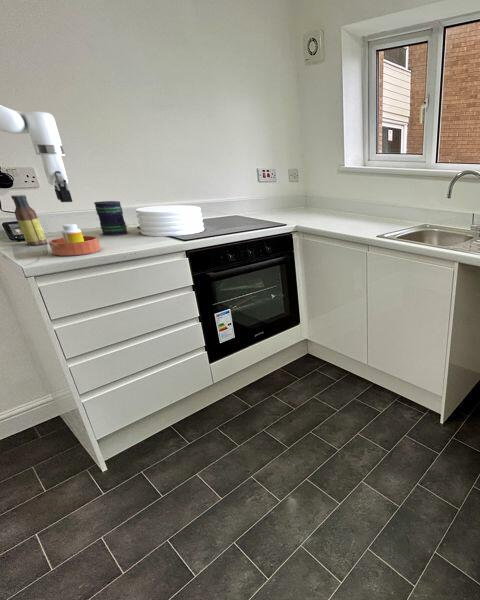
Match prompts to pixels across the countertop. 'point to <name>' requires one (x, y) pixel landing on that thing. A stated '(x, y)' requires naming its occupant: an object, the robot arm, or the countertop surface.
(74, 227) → the supplement bottle
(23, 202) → the sauce bottle
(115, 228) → the storage jar
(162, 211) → the plate stack
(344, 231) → the countertop surface
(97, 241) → the bowl
